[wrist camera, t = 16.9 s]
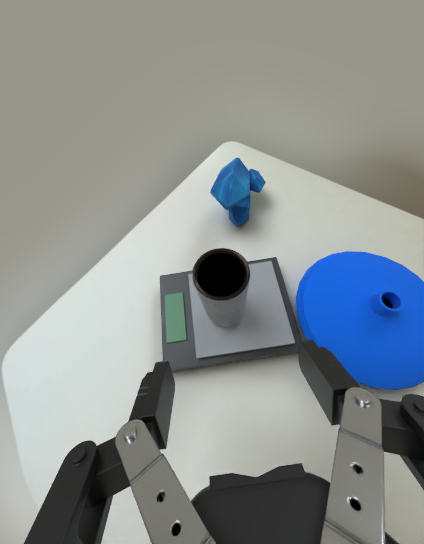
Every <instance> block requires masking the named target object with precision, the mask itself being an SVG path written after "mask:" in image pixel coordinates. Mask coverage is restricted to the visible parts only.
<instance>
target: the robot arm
mask: <svg viewBox="0 0 424 544" xmlns="http://www.w3.org/2000/svg"><path fill="white" fill-rule="evenodd" d="M298 347H299V365H300V368H301V371H302V373H303V375H304V377H305V378H306V380H307V382H308V384H309V385H310V387H311V389H312V391H313V393H314V394H315V396H316V398H317V400H318V402H319V403H320V405H321V407H322V409H323V411H324V412H325V414H326V416H327V418H328V420H329V421H330V423H331V425H338V424H339V425H340V428H339V432H338V438H337V444H336V451H335V457H334V464H333V470H332V477H331V483H329V482H328V481H326V480H325V479H323V478H321V477H319V476H317V475H314V474H311V473H307V472H305V471H304V468H303V466H302V463H300V464H293V465H286V466H279V467H277V468H275V469H273V470H271V471H269V472H267V473H265V474H263V475H261V476H259V477H251V476H245V475H239V474H234V473H230V474H223V475H216V476H210V485H209V486H207V487H206V488H204V489H203V490H201V491H200V492H199V493H198V494H197V495H196V496H195V497H194V498H193V499H192V500H191V501H190V499H189V498H188V496H187V494H186V492H185V491H184V489H183V487H182V485H181V484H180V482H179V480H178V478H177V477H176V475H175V473H174V471H173V470H172V468H171V466H170V464H169V463H168V461H167V459H166V457H165V456H164V454H161V452H160V449H166V446H167V439H168V432H169V426H170V419H171V412H172V405H173V399H174V392H175V382H174V377H173V374H172V370H171V366H170V363H169V361H162V362H156V363H155V366H154V370H153V372H149V373H147V374H146V376H145V377H144V378H143V380H142V382H141V385H140V389H139V391H138V394H137V397H136V400H135V403H134V406H133V409H132V412H131V415H130V418H129V421H128V423H126V424H125V425H124V426H123V427H122V428H121V429H120V430H119V431H118V433H117V435H116V437H114V438H112V439H110V440H108V441H106V442H104V443H102V444H100V445H98V446H96V444H95V443H94V442H93V441H84V442H82V443H80V444H78V445H77V446H75V447H74V448H73V449H72V450H71V451H70V452H69V453H68V454H67V456H66V457H65V459H64V461H63V463H62V465H61V467H60V469H59V471H58V473H57V475H56V478H55V480H54V482H53V484H52V486H51V488H50V490H49V492H48V494H47V496H46V498H45V501H44V503H43V505H42V507H41V509H40V511H39V513H38V515H37V517H36V520H35V522H34V524H33V526H32V528H31V530H30V532H29V534H28V536H27V538H26V540H25V542H24V544H101V541H102V537H103V533H104V529H105V525H106V521H107V517H108V514H109V510H110V506H111V502H112V498H113V495H114V494H116V493H118V492H120V491H122V490H124V489H125V488H127V487H129V486H131V489H132V492H133V494H134V497H135V500H136V502H137V505H138V508H139V510H140V513H141V516H142V518H143V521H144V524H145V526H146V529H147V532H148V534H149V537H150V540H151V542H152V544H398V543H397V542H396V541H395V540H394V539H393V538H392V537H391V536H390V535H388V534H387V533H386V532H385V506H384V452H388V453H393V454H398V455H400V456H401V458H402V459H403V461H404V462H405V464H406V465H407V466H408V468H409V469H410V471H411V472H412V474H413V475H414V477H415V478H416V479H417V481H418V482H419V484H420V485H421V487H422V488H423V489H424V397H423V396H420V395H415V394H408V395H405V396H404V397H403V398H402V401H401V402H397V401H389V400H383V399H379V398H377V397H376V396H375V395H374V394H373V393H372V392H370V391H368V390H366V389H363V388H361V387H360V386H359V385H358V384H357V382H356V381H355V380H354V379H353V378H352V376H351V375H350V374H349V373H348V371H347V370H346V369H345V368H344V367H343V366H342V364H341V363H340V362H339V360H337V358H336V357H335V356H334V354H333V353H332V352H331V351H329V350H328V349H326V348H325V347H318V346H317V345H316V343H315V342H314V341H313V340H312V339H309V340H303V341H299V343H298Z"/></svg>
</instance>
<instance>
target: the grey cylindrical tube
mask: <svg viewBox="0 0 424 544" xmlns="http://www.w3.org/2000/svg"><path fill="white" fill-rule="evenodd" d="M192 278H193V283H194V286H195V288H196V290H197V293H198V295H199V297H200V299H201V302H202V304H203V306H204V309H205V311H206V313H207V315H208V317H209V319H210V320H211V321H212V322H213V323H214V324H215V325H217V326H220V327H231V326H234V325H235V324H237V323H238V322H239V321H240V320H241V318H242V316H243V314H244V310H245V304H246V299H247V293H248V288H249V282H250V268H249V265H248V263H247V261H246V260H245V258H244V257H243V256H242V255H240V254H239V253H237V252H236V251H233V250H230V249H225V248H219V249H214V250H211V251H208V252H206V253H205V254H203V255H202V256H201V257H200V258H199V259H198V260H197V262H196V263H195V265H194V268H193V273H192Z"/></svg>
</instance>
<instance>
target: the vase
mask: <svg viewBox="0 0 424 544" xmlns="http://www.w3.org/2000/svg"><path fill="white" fill-rule="evenodd" d="M296 307H297V316H298V319H299V322H300V325H301V328H302V332H303V334H304V335H305V337H306V339H307V340H309V339H312V340H313V341H314V342H315V343H316V345H317V346H318V347H325V348H326V349H328V350H329V351H331V352H332V353H333V354H334V356H335V357H336V358H337V360H339V362H340V363H341V364H342V366H343V367H344V368H345V369H346V370H347V371H348V373H349V374H350V375H351V376H352V378H353V379H354V380H355V381H356V382H359V383H361V384H364V385H367V386H369V387H374V388H382V389H390V390H396V389H402V388H408V387H414V386H416V385H418V384H420V383H422V382H424V282H423V281H422V280H421V279H420V278H419V277H418V276H417V275H416V274H414V273H413V272H411V271H410V270H409V269H407V268H406V267H404V266H403V265H401V264H399V263H396V262H394V261H392V260H390V259H388V258H385V257H382V256H378V255H374V254H370V253H366V252H342V253H337V254H332V255H329V256H327V257H325V258H323V259H321V260H318V261H317V262H316V263H315V264H314V265H313V266H311V267H310V268H309V269H308V270H307V271H306V273H305V275H304V276H303V278H302V280H301V281H300V283H299V287H298V291H297V296H296Z"/></svg>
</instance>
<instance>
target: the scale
mask: <svg viewBox="0 0 424 544" xmlns="http://www.w3.org/2000/svg"><path fill="white" fill-rule="evenodd" d="M247 263H248V265H249V268H250V282H249V288H248V293H247V299H246V304H245V310H244V314H243V316H242V318H241V320H240V321H239V322H238V323H237V324H235V325H234V326H231V327H220V326H217V325H215V324H214V323H213V322H212V321H211V320H210V319H209V317H208V315H207V313H206V311H205V309H204V306H203V304H202V302H201V299H200V297H199V295H198V293H197V290H196V288H195V286H194V283H193V278H192V273H193V271H188V272H182V273H175V274H169V275H163V276H160V291H161V319H162V347H163V361H169V363H170V366H171V370H172V371H178V370H185V369H191V368H198V367H204V366H211V365H218V364H224V363H231V362H237V361H244V360H250V359H257V358H263V357H270V356H277V355H283V354H290V353H296V352H299V347H298V343H299V341H302V340H301V337H300V333H299V330H298V327H297V324H296V320H295V317H294V314H293V310H292V307H291V304H290V301H289V297H288V294H287V291H286V287H285V284H284V281H283V278H282V274H281V271H280V268H279V264H278V261H277V258H276V257H274V258H268V259H262V260H256V261H249V262H247Z"/></svg>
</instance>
